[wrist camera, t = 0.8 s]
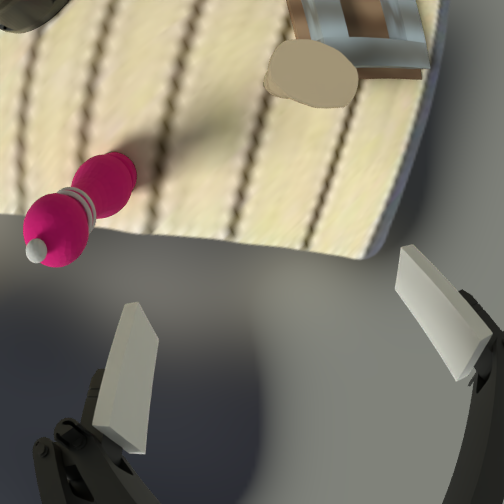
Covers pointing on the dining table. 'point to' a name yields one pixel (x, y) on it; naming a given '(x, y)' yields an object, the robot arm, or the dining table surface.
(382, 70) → the frame
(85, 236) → the pepper mill
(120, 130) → the dining table surface
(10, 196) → the dining table surface
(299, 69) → the handle
